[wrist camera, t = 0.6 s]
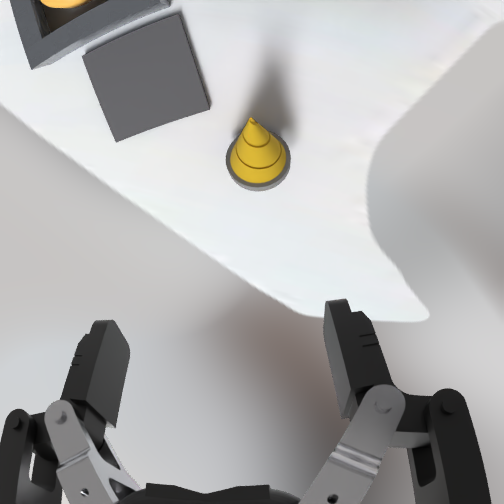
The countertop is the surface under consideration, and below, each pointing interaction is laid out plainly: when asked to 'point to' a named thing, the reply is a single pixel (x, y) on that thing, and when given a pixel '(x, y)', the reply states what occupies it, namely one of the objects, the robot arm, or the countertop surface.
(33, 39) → the grey open box
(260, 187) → the ridged yellow cone
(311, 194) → the countertop surface
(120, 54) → the rest mat
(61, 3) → the button
